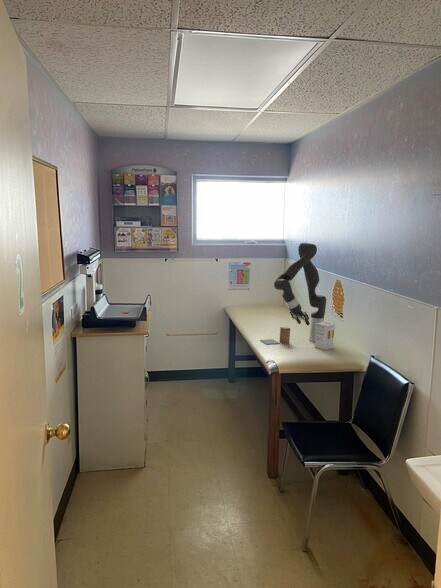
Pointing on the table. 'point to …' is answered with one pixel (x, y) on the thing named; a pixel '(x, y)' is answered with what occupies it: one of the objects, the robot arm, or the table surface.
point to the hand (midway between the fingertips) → (304, 324)
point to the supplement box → (324, 335)
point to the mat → (269, 341)
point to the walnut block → (284, 335)
